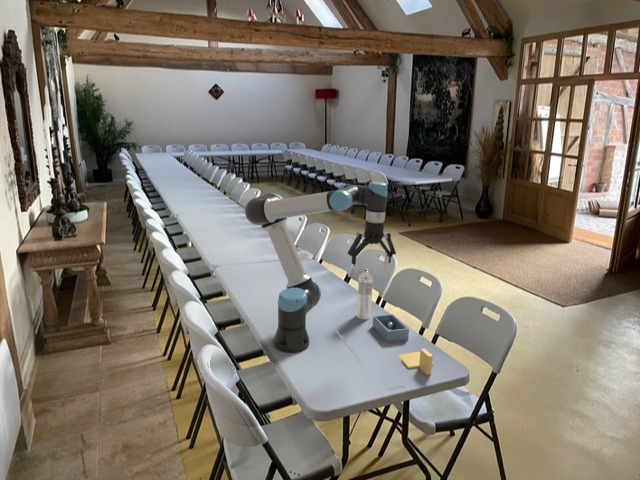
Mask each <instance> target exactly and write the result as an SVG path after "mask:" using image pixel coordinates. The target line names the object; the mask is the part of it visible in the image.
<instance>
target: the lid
mask: <svg viewBox="0 0 640 480" xmlns="http://www.w3.org/2000/svg"><path fill="white" fill-rule="evenodd" d="M397 356H398V357H399V358H400V359H401V360H400V361H401V362H402V363H403V364H404V365H405V367H406V368H408V370H409V369H410V370H411V369H416V368H419V369H420V370H421V371H422V373H424V374H425V375H426V376H430V374H431V375H432V369H433V368H432V367H433V366H434V363H433V359H434V358H433V354H432V353H430V352H429V351H428V350H427V349H426V348H420V351H414V352H413V351H412V352H407V353H401V354H397Z"/></svg>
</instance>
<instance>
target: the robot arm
mask: <svg viewBox="0 0 640 480" xmlns="http://www.w3.org/2000/svg"><path fill="white" fill-rule="evenodd" d="M387 199H388V185H387V183H385V182H382V181H381V182H380V181H370V182H369V183H368V185H366V186H365V185H357V184H352V183H342V184H340V185H339V187H338V189H336V190H330V191H323V192H318V193H317V192H316V193H311V194H305V195H299V196H295V197H294V196H293V197H287V198H283V197H282V196H281V195H280V194H277V193H273V192H271V193H265V194H262V195H260V196H257V197H256V196H255V197H254V198H251V199H250V200H249V201H248V202H247V203H246V204H245V207H244V215H245V218H246V219H247V220H248V221H249V223H251V224H253V225H254V226H255V225H256V226H261V228H262V230H264V231H267V234H268V236H269V238H270V241H271V243H272V246H273V248H274V250H275V251H274V252H275V254H276V255H277V258H278V260H279V263H280V266H281V267H282V270H283V272H284V275H285V278H286V280H287V284H286V289H283V290H282V291H280V293H279V294H278V300H277V305H278V306H277V313H278V314H277V329H276V331H275V334H274V336H273V337H274V338H273V346H274V347H275V349H277V350H279V351H281V352H286V353H298V352H302V351H304V350H306V349H308V347H309V346H310V336H309V334H308V330H307V326H306V325H307V323H306V322H307V314H308V313H309V312H310V311H312V309H314V307H316V306H317V305H318V304H319V301H320V300H321V297H322V290H321V287H320V285H319V284H318V283H317V282H316V281H314V280H313V278H312V276H311V275H309V274H308V273H307V272H306V270H305V267H304V266H303V263H302V260H301V258H300V255H299V253H298V251H297V249H296V246H295V243H294V241H293V238H292V236H291V233H290V231H289V229H288V227H287V221H288V218H292V217H299V216H307V215H311V214H312V215H313V214H319V213H320V214H321V213H325V212H332V211H333V212H335V211H337V212H343V211H346V210H348V209H349V208H351V207H352V206H354V205H360V206H361V205H362V206H366V214H365V225H364V233H362V232H360V231H358V232H356V237H355V239H354V241H353V242H352V244H351V246H350V248H349V249H348V251H347V254H348V255H349V256H350V257H351V264H352V265H353V266H352V272H354V273H355V274H356V273H358V266H359V265H358V263H359V257H358V256H359V254H360V253H361V252H362V251H363V250H364V249H365V248H366V246H368V245H374V244H375V245H378V244H379V245H380V246H381V248H382V249H383V250H384V252H385V253H386V254H384V260H383V261H384V262H383V270H384V271H385V272H388V271H389V264H391V260H392V257H393V256H395V255H396V254H397V252H396V249H395V246H394V243H393V240H392V237H391V233H390V232H388V231H385V232H384V230H385V220H386V210H387V201H388V200H387ZM363 238H364V239H363ZM384 238H385V240H386V242H387V245H386V244H385V243H384V241H383V240H382V239H384ZM361 241H362V242H361ZM387 246H388V247H387Z"/></svg>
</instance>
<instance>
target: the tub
mask: <svg viewBox="0 0 640 480" xmlns="http://www.w3.org/2000/svg"><path fill="white" fill-rule="evenodd" d="M389 321H391V322H394V326H393V330H388V329H387V324H388V322H389ZM372 328H373V329H374V330H375V331H376V333H378V335H380V337H382V338H383V340H384V341H385V342H386V343H389V344H390V343H395V342H404V341H409V333H410V329H409V328H408V326H406V325H405V323H403V322H402V321H401V320H400V319H399V318H398V317H397V316H395V314H393V313H391V314H383V315H373V316H372Z"/></svg>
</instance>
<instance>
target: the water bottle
mask: <svg viewBox="0 0 640 480" xmlns="http://www.w3.org/2000/svg"><path fill="white" fill-rule="evenodd" d="M357 280H358V288H357V299H356V318H357V319H358V320H362V321H367V320H369V319H371V316H372V315H371V314H372V301H373V299H372V298H373V282H374V278H373V276H372V274H371V273H370V272H369V269H368V268H364V272H363V273H361V274H360V275H358V279H357Z"/></svg>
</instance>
